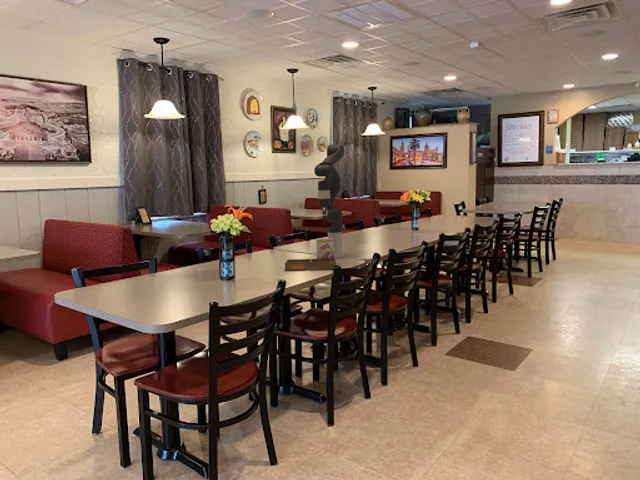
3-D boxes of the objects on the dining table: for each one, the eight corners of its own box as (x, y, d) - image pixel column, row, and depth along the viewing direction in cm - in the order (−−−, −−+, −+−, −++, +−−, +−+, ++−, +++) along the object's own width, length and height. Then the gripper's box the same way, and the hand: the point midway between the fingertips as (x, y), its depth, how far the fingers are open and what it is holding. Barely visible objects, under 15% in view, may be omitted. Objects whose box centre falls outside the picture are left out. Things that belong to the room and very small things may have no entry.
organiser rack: (286, 267, 310) (286, 259, 309) (336, 266, 309) (335, 258, 308) (285, 271, 299) (284, 263, 298) (336, 269, 298) (336, 261, 297)
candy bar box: (316, 265, 313) (316, 239, 310) (317, 264, 318) (316, 238, 315) (334, 265, 312) (334, 239, 309) (335, 263, 317) (334, 238, 314)
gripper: (330, 198, 301) (330, 225, 304) (330, 196, 315) (330, 222, 318) (317, 198, 302) (318, 225, 304) (318, 197, 316) (319, 222, 318)
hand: (324, 223), depth 311 cm, fingers open, 8 cm apart
